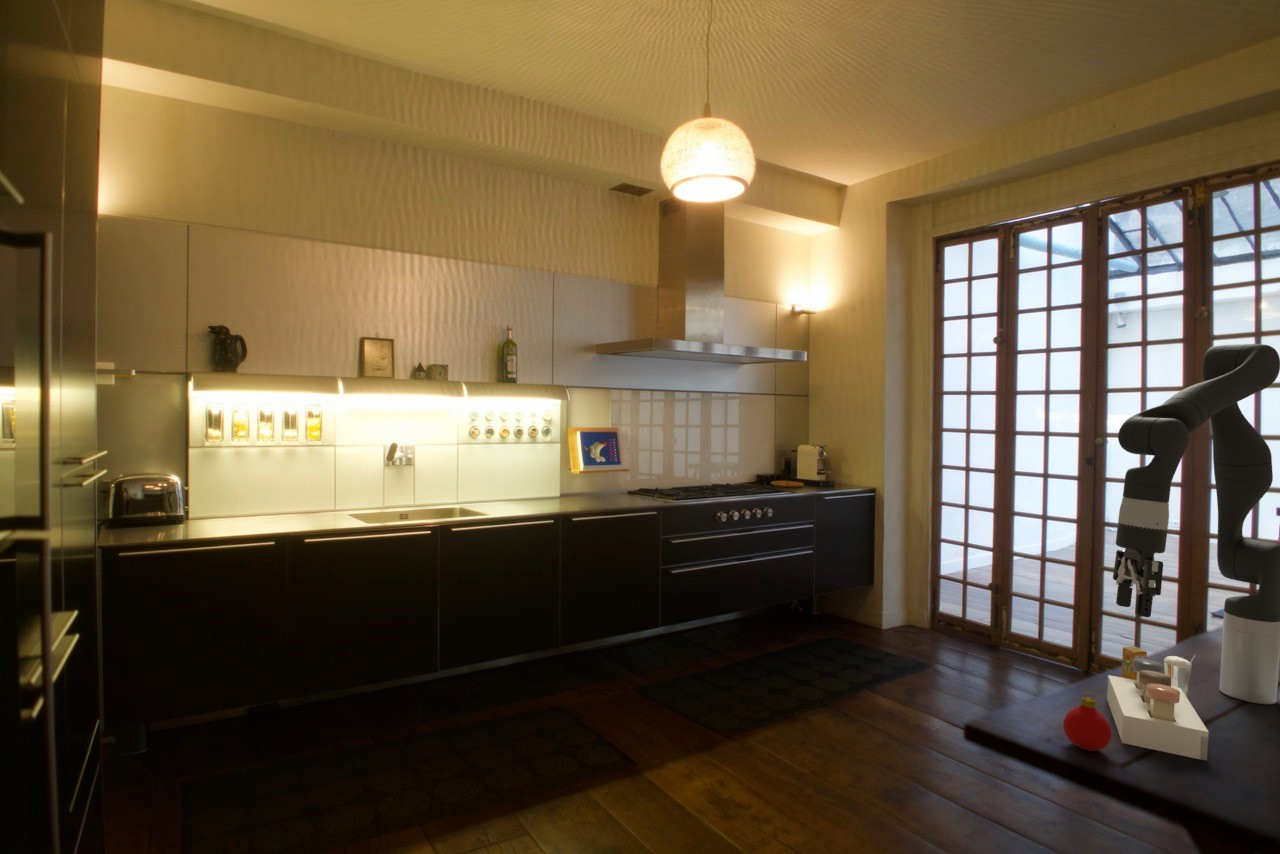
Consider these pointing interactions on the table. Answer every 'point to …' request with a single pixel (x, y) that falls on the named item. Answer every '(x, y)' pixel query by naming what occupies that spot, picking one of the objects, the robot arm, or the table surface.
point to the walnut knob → (1152, 681)
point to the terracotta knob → (1162, 701)
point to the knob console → (1156, 722)
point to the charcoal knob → (1145, 668)
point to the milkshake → (1178, 671)
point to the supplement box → (1131, 661)
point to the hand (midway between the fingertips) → (1132, 611)
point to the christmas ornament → (1087, 726)
